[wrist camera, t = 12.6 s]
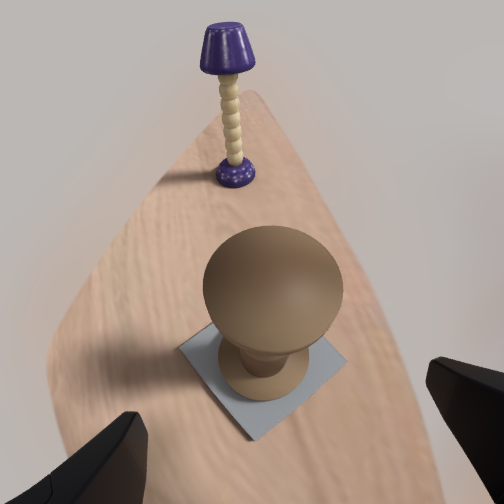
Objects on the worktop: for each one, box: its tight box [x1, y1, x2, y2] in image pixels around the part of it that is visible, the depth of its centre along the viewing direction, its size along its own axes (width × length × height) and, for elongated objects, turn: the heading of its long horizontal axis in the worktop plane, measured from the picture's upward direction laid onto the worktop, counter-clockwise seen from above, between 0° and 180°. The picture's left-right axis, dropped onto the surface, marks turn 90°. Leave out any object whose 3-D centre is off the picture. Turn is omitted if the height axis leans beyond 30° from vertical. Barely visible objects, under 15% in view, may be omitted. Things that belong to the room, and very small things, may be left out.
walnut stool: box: [203, 226, 343, 401], centre depth 16 cm, size 6×6×12 cm
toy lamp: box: [200, 22, 255, 188], centre depth 25 cm, size 5×5×17 cm
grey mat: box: [179, 323, 347, 441], centre depth 21 cm, size 9×9×1 cm
